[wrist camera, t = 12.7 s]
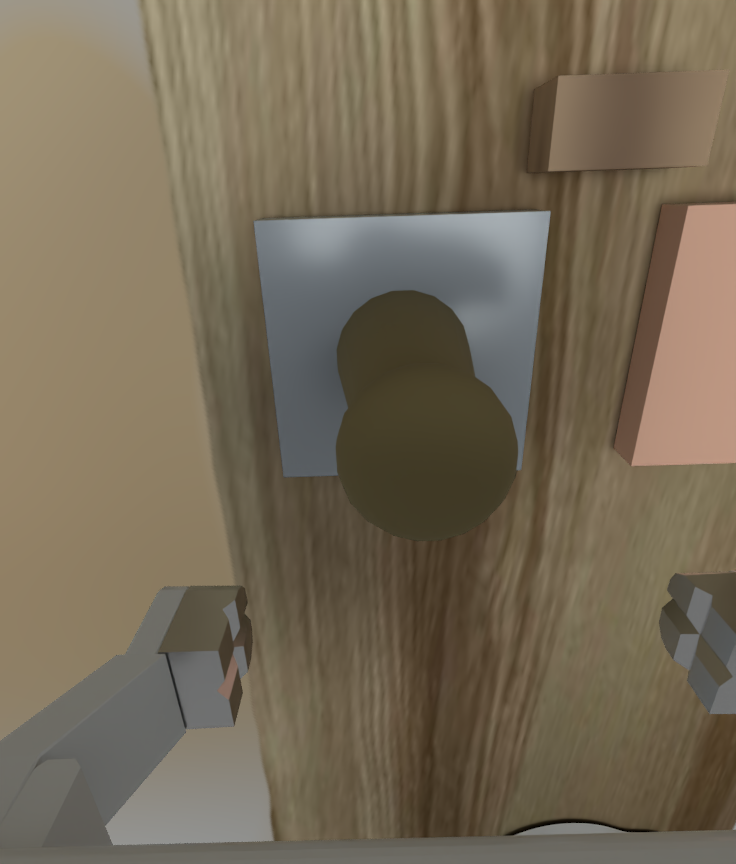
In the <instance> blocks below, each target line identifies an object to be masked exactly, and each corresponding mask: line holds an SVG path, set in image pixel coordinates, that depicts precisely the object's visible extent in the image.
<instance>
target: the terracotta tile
mask: <svg viewBox="0 0 736 864" xmlns="http://www.w3.org/2000/svg"><path fill="white" fill-rule="evenodd" d="M614 449H615V450H616V451H617V452H618V453H619V454H620V455H621V456H622V457H623V458H624V459H625V460H626V461H627V462H628V463H629V464H630V465H631V466H650V465H682V464H715V463H736V202H716V203H685V204H662V208H661V213H660V218H659V223H658V228H657V233H656V238H655V243H654V248H653V253H652V258H651V263H650V268H649V273H648V278H647V283H646V288H645V293H644V298H643V303H642V308H641V313H640V318H639V323H638V328H637V333H636V338H635V343H634V348H633V353H632V358H631V363H630V368H629V373H628V378H627V383H626V388H625V393H624V398H623V403H622V408H621V413H620V418H619V423H618V428H617V433H616V438H615V443H614Z"/></svg>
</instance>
